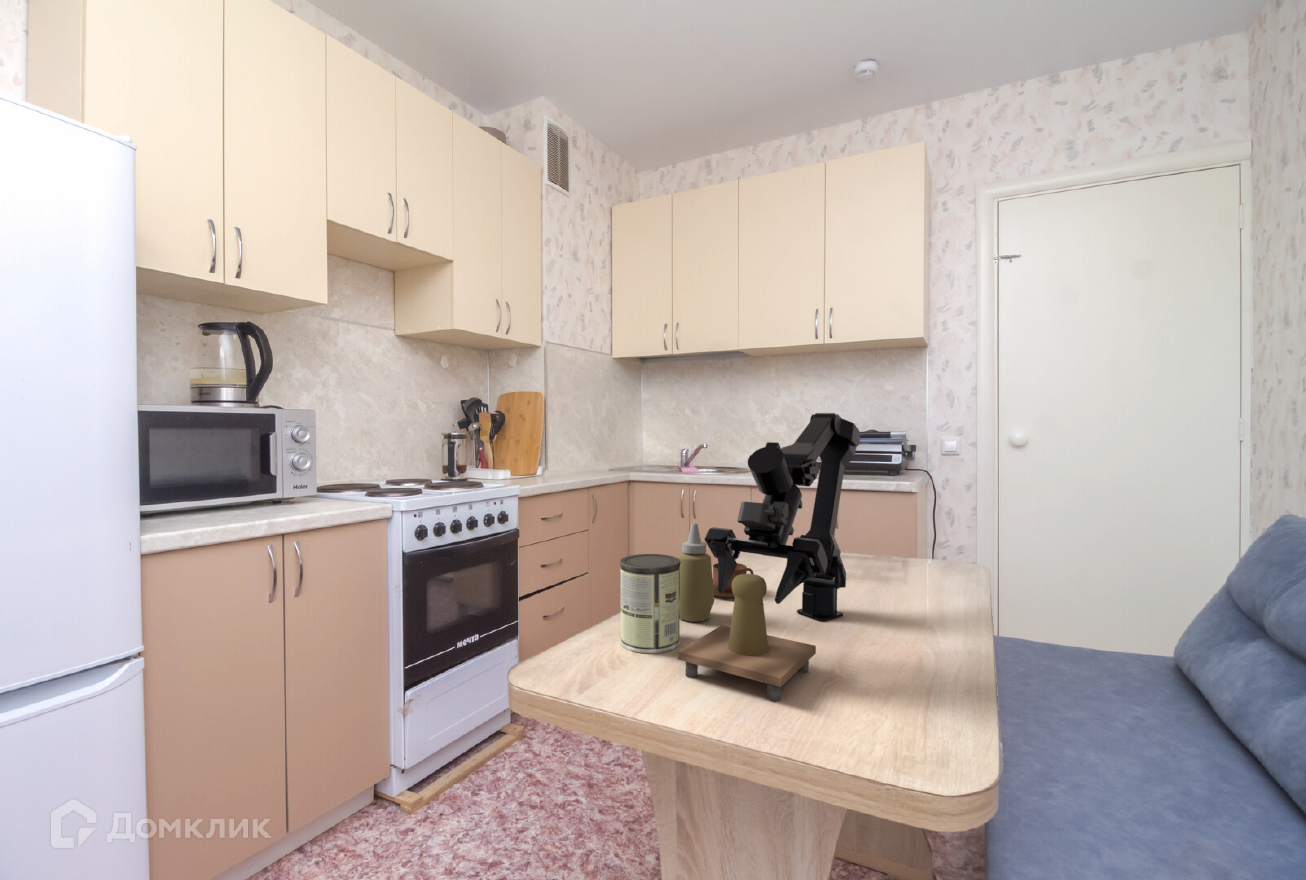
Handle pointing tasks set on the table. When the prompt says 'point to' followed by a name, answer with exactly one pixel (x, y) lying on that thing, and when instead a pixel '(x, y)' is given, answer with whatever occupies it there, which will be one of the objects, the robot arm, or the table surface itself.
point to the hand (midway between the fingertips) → (747, 596)
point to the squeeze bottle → (695, 579)
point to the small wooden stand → (749, 659)
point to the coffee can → (650, 603)
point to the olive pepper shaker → (748, 616)
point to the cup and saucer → (728, 591)
